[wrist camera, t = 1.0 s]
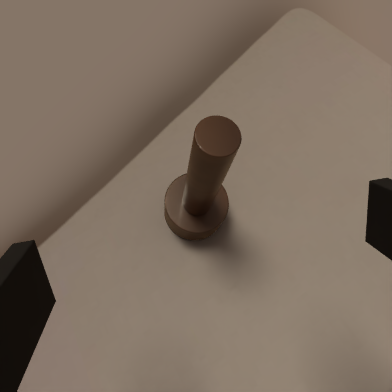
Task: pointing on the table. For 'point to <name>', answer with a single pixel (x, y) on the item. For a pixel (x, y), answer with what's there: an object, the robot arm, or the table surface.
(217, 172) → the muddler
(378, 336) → the table surface
